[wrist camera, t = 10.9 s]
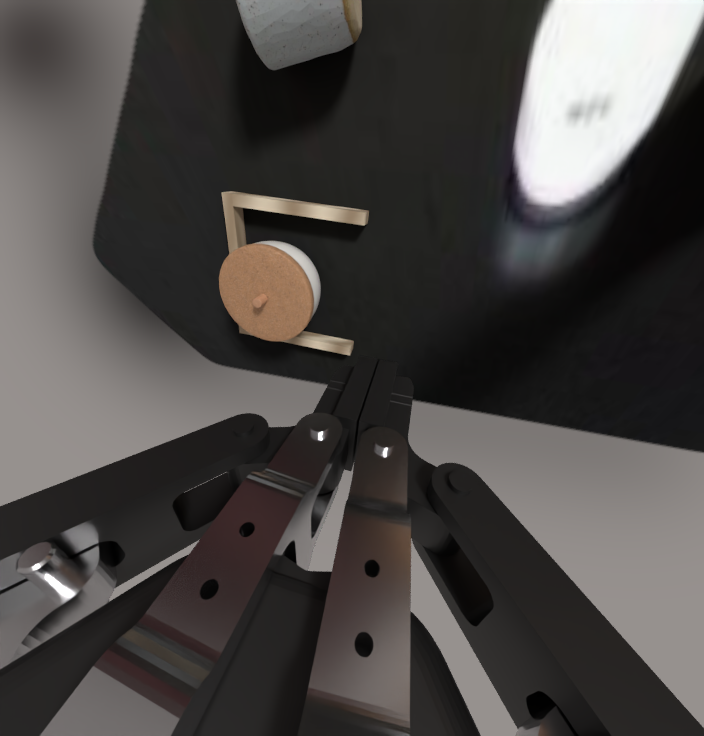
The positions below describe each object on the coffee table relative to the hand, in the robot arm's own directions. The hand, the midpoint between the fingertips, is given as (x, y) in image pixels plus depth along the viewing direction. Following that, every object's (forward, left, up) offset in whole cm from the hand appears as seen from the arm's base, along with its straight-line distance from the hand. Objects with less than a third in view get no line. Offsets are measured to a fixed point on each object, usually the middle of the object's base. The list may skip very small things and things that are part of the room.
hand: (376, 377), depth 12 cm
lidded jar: (+14, +6, -26) cm, 31 cm away
